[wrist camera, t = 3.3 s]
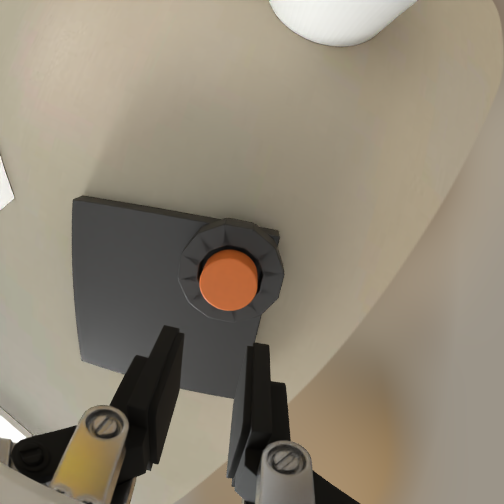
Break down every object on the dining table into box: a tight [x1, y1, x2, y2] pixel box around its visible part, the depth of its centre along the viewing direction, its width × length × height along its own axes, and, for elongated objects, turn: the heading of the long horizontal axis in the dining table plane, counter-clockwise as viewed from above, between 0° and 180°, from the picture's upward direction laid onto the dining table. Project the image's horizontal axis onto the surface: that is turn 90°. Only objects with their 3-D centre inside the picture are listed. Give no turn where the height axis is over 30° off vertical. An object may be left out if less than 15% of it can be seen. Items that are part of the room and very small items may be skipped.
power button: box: [199, 249, 258, 311], centre depth 18 cm, size 3×3×2 cm
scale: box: [72, 196, 284, 399], centre depth 21 cm, size 15×14×3 cm
